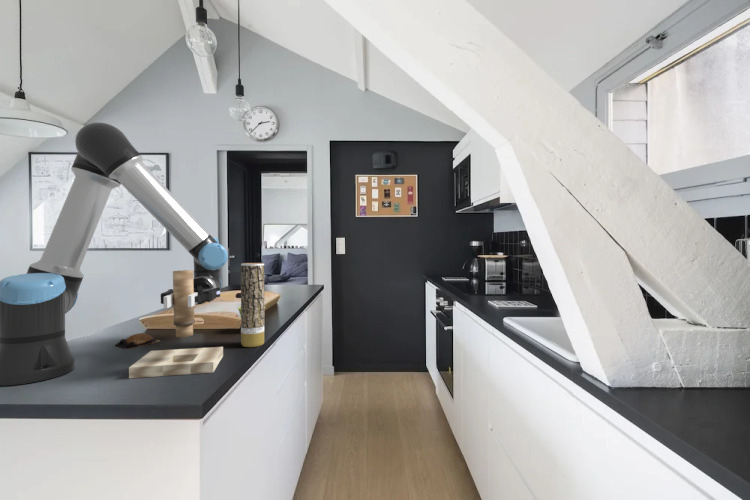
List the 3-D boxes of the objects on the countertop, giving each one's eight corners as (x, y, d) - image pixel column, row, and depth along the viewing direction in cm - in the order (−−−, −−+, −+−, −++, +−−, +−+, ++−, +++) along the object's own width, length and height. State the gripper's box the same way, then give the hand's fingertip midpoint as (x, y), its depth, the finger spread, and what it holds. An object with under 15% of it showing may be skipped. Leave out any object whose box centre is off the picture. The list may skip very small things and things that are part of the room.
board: (129, 378, 86) (128, 367, 86) (150, 360, 99) (150, 350, 99) (213, 372, 90) (213, 362, 90) (223, 355, 103) (223, 346, 103)
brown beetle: (146, 340, 123) (146, 329, 123) (162, 343, 119) (162, 331, 119) (111, 348, 113) (111, 335, 113) (127, 351, 110) (127, 338, 110)
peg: (171, 338, 90) (169, 272, 90) (176, 333, 95) (175, 270, 94) (192, 336, 91) (190, 271, 91) (197, 332, 96) (195, 270, 96)
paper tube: (268, 345, 115) (268, 263, 114) (246, 349, 110) (246, 264, 110) (258, 341, 120) (258, 262, 119) (237, 344, 115) (237, 263, 115)
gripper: (232, 301, 112) (217, 316, 90) (167, 304, 108) (136, 320, 86) (231, 276, 112) (217, 284, 90) (167, 278, 108) (135, 287, 86)
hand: (177, 302), depth 88 cm, fingers closed on peg, 4 cm apart
